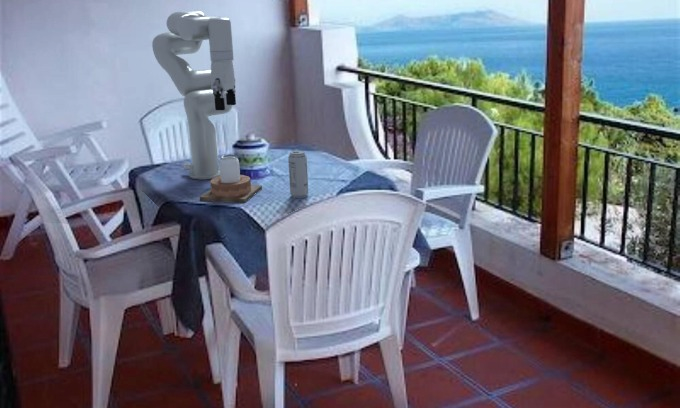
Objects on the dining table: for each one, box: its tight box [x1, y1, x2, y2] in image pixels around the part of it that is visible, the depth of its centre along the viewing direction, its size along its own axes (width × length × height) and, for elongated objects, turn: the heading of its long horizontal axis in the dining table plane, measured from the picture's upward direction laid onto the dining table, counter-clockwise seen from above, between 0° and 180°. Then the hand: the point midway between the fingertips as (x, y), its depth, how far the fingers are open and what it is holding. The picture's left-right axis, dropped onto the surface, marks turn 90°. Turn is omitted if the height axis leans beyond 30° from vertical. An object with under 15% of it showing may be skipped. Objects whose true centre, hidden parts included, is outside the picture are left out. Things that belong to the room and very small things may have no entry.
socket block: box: [199, 174, 263, 203], centre depth 247 cm, size 16×16×5 cm
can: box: [218, 154, 241, 183], centre depth 246 cm, size 6×6×12 cm
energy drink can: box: [287, 150, 309, 199], centre depth 242 cm, size 6×6×15 cm
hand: (225, 107), depth 248 cm, fingers open, 9 cm apart
